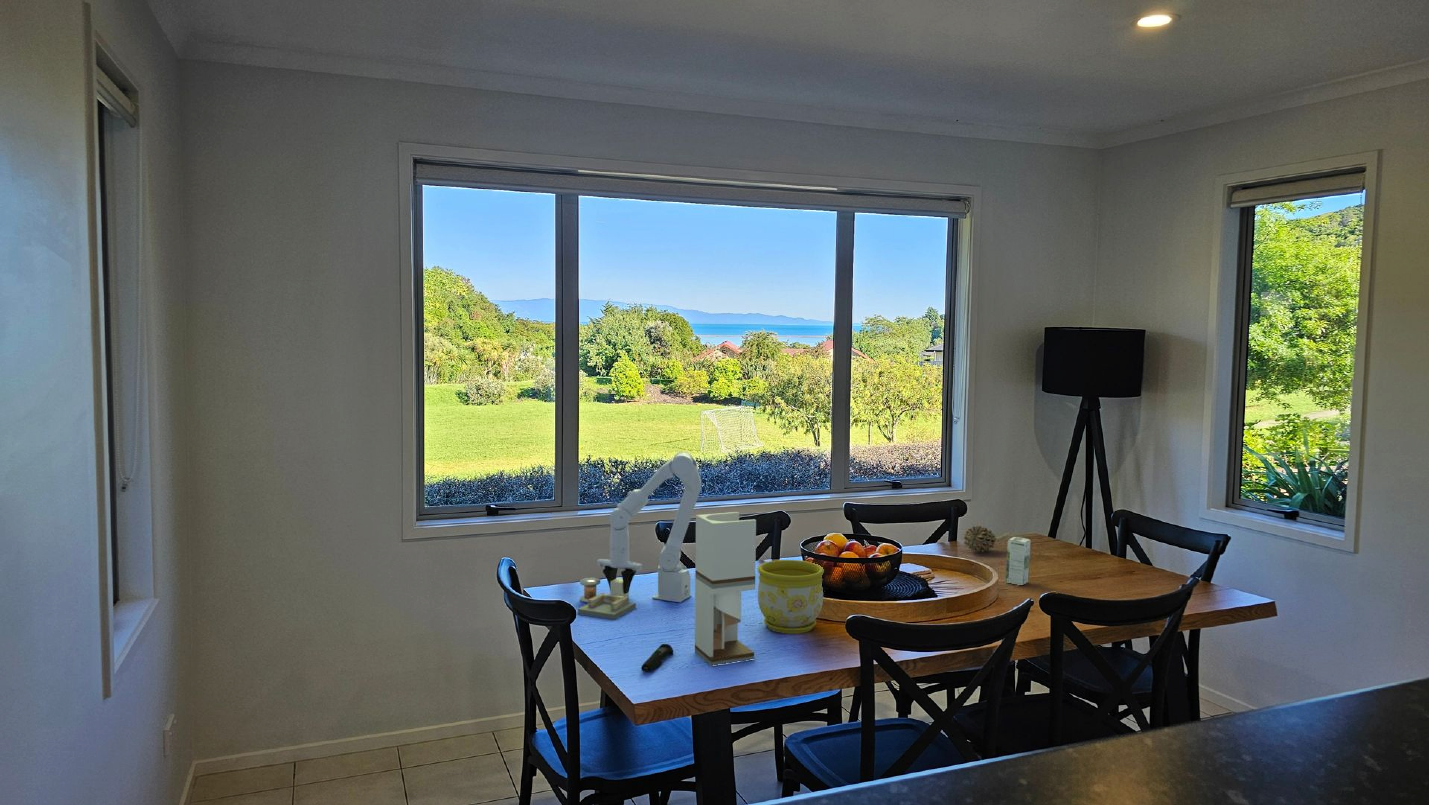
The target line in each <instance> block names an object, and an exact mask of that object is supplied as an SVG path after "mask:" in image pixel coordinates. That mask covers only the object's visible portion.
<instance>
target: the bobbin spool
mask: <svg viewBox="0 0 1429 805" xmlns="http://www.w3.org/2000/svg"><path fill="white" fill-rule="evenodd" d="M579 584H580V585H581V586H584V587H583V591H584V592H583V593H584V594H583V595H582V596H580V597H579V598H580V599H579V601H580V602H581V603H583V604H584V603H585V604H588V600H589V599H591V598H593V597H595V596H597V595H598V594H597V586H599V585H600V584H601V579H600V578H597V577H585V578H581V579H580V580H579Z"/></svg>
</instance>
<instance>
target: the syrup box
mask: <svg viewBox="0 0 1429 805" xmlns="http://www.w3.org/2000/svg"><path fill="white" fill-rule="evenodd" d="M1030 558H1031V539H1029V538H1024V537H1019V536H1013V537H1010V538H1009V539H1008V540H1007V549H1006V565H1005V566H1006V568H1005V571H1006V572H1005V584H1007V583H1012V584H1017V585H1016V586H1019V585H1024V584H1025V585H1027V584H1028V583H1029V575H1030V560H1031V559H1030ZM1027 582H1028V583H1027ZM1026 583H1027V584H1026ZM1012 584H1011V585H1012ZM1025 585H1024V586H1025Z"/></svg>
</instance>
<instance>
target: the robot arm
mask: <svg viewBox="0 0 1429 805" xmlns="http://www.w3.org/2000/svg"><path fill="white" fill-rule="evenodd" d="M675 476H676V477H678V478H679V479H680V481H681V482H682V484H683V486H684V491H683V494H682V498H681V500H680V502H679V503H680V504H679V507H678V508H677V511H676V515H675V517H674V521H673V523H672V527H671V530H670V533H669V535H668V538H667V541H666V543H665V544H664V545H663V546H662V547H661V550H660V554H659V556H658V564H659V565H658V566H657V594H655V595H653V596H652V599H653V600H661V601H668V602H676V603H681V602H683V601H685V600H687V599H688V598H690V597H691V596H692V594H691V574H690V573H691V572H690V571H688V570H686V569H684V568H683V566H682V564H681V563H680V562H681V561H680V559H681V556H682V550H681V549H682V546H683V542H684V539H685V536H686V533H687V530H688V529H689V528H688V527H689V525H690V521H691V518H692V516H693V513H694V509H695V507H696V504H697V501H698V498H699V495H700V492H701V489H702V486H703V485H702V479H701V475H700V472H699V468H698V464H697V462H696V460H695V459H694V457H693V456H692V454H690V453H689V452H688V451H680V452H677V453H675V455H674V456H673V458H670V459H669V460H667V462H665V463H664V464H663V465H661V466H660V467H659V468H658V470H657V471H655V473H654V474H653V475H652V476H651V478H650V479H649V480H647V481H646V483H644V484H643V486H642V487H640V488H639V489H633V490H632V491H631V490H629V491H628V492H627V495H626V497H625V498H624V499H623V500H622V501H621V503H619V502H618V504H616V508H614V509H613V510H612V512H611V513H610V515H609V518H608V522H609V525H610V533H609V559H607V558H606V559H605V558H599V559H597V561H596V562H597V563H596V564H597V565H596V566H597V567H604V569H602V573H603V574H604V577H605V579H606V580H607V583H608V586H609V588H610V581H612V580H614V579H616V578H617V574H618V569H620V570H622V571H620V572H621V573H620V574H621V579H623V593H624V594H626V593H628V592H629V593H630V587H631V584H632V581H633V579H634V577H635V574H636V573H640V572H641V571H643V563H638V562H634V561H630V532H629V522H630V521H631V519H632V518H634V517H636V516H637V514H638V513H640V511H641V510H642V509H644V507H645V506H646V505H647V504H648V503H649V496H650V495H651V494H652V493H653V492H654V491H655V490H656V489H657V488H658V487H659V486H661V485H662V484H663V482H665V480H669V479H674V478H675Z"/></svg>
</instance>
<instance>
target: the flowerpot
mask: <svg viewBox="0 0 1429 805" xmlns="http://www.w3.org/2000/svg"><path fill="white" fill-rule="evenodd" d="M757 572H758V573H759V576H758V579H759V581H758V586H757V587H758V589H757V602H758V607H759V610H760V612H761V614H762V615H763V617H764V619H763V623H764V624H765V625H766V626H767V628H768V629H769V630H771V631H773V632H775V633H776V632H777V633H780V632H781V633H780V634H790V635H792V634H793V635H795V634H802V633H803V634H804V633H808V632H809V631H811V630H812V629H813V628H814V627H815V626H816V625H817V620H816V619H817V617H818V616H819V615H820V612H822V611H821V610H822V609H823V608H822V607H823V604H824V603H823V602H824V592H823V587H822V580H823V579H822V575H823V573H824V569H823V567H821V566H820V565H818V564H815V563H812V561H807V560H800V559H799V560H796V559H774V560H770V561H766V562H763V563H761V564H759V565H758V566H757Z"/></svg>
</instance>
